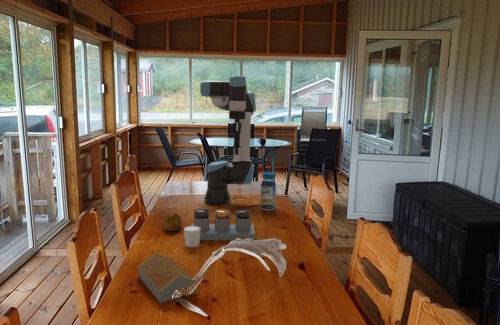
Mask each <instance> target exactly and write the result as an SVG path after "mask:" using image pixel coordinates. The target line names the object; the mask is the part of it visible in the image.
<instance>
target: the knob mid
mask: <svg viewBox="0 0 500 325" xmlns="http://www.w3.org/2000/svg"><path fill="white" fill-rule="evenodd" d="M215 217H216V218H221V219H224V218H229V217H230V218H231V210H229V209H227V208H218V209H216V210H215V211H214V218H215Z"/></svg>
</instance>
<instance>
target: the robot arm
mask: <svg viewBox="0 0 500 325" xmlns="http://www.w3.org/2000/svg"><path fill="white" fill-rule="evenodd" d="M199 92H200V96H202V97H204V98H205V97H206V98H208V97H209V98H210V100H211V103H212V104H213V106H214V107H217V108H218V109H220V110H223V111H228V119H229V120H234V122H232V131H233V135H234V136H233V146H232V148H233V159H232V160H231V163H229V161H227V160H226V161H225V160H220V161H219V160H218V161H213V162H210V163H209V164H208V165H207V187H206V192H205V195H204V198H203V199H204V203H206V204H207V205H213V206H216V205H217V206H218V205H219V206H221V205H227V204H230V203H231V200H232V199H231V194H230V192H229V189H228V187H229V185H240V186H241V185H243V186H244V185H245V186H246V185H251V184H252V182H253V180H254V179H253V178H254V173H255V164H253V161H252V159H251V158H250V157H251V156H250V155H251V126H252V125H251V122H252V121H251V120H252V117H253V116H254V113H255V112H256V111H257V108H256V107H257V106H256V96H255V92H254V91H251V90H248V87H247V78H246V76H244V75H231V76H229V80H208V79H207V80H202V81H201V82H200V88H199Z"/></svg>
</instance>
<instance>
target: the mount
mask: <svg viewBox="0 0 500 325" xmlns="http://www.w3.org/2000/svg"><path fill="white" fill-rule="evenodd" d="M251 220H252V218H251V216H250V218H246V219H241V218H237V217H236V216H235V223H234V224H233V223H232V224H231V222H230V221H231V216H230V217H229V218H224V219H221V218H216V217H215V216H214V223H212V224H211V223H210V216H209V217H208V218H195V217H194V216H193V223H192V224H190V226H198V227H200V228H201V231H200V241H235V240H234V239H237V238H241V239H246V238H252V239H255V240H256V231H255V227H254V226H255V225H254V224H251V222H252V221H251Z"/></svg>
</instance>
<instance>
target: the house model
mask: <svg viewBox="0 0 500 325" xmlns="http://www.w3.org/2000/svg"><path fill="white" fill-rule="evenodd" d="M137 268H138V278H139V279H140V280H141V282H142V283H143V284H144V285H145V286H146V287H147V289H148V290H149V291H150V292H151V294H152V295H153V296H154V298H156V299H157V301H158V302H159V303H160V304H162V303H166V302H171V301H173V300H172V295H173V293H174V291H175V290H178V291H180V290H181V289H182V288H187V287H189V286H191V285H192V284H194V283H195V282H197V283H198V281H197V280H196V279H194V277H193V276H192V275H191V274H190V273H188V272H187V271H186V270H185V268H183V267H182V266H181V265H180V264H179V263H177V261H175V260H174V259H173V258H171V257H168V256H164V255H162V254H159V253H156V252H155V253H153V254H152V255H151V256H150V257H148V258H146V260H144V261H143V262H142V263H140V264H139V265H138V266H137ZM192 279H194V280H192ZM197 293H198V287H197V288H196V289H195V290H194V291H193V293H192V294H191V295H193V294H194V295H195V294H197Z"/></svg>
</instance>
